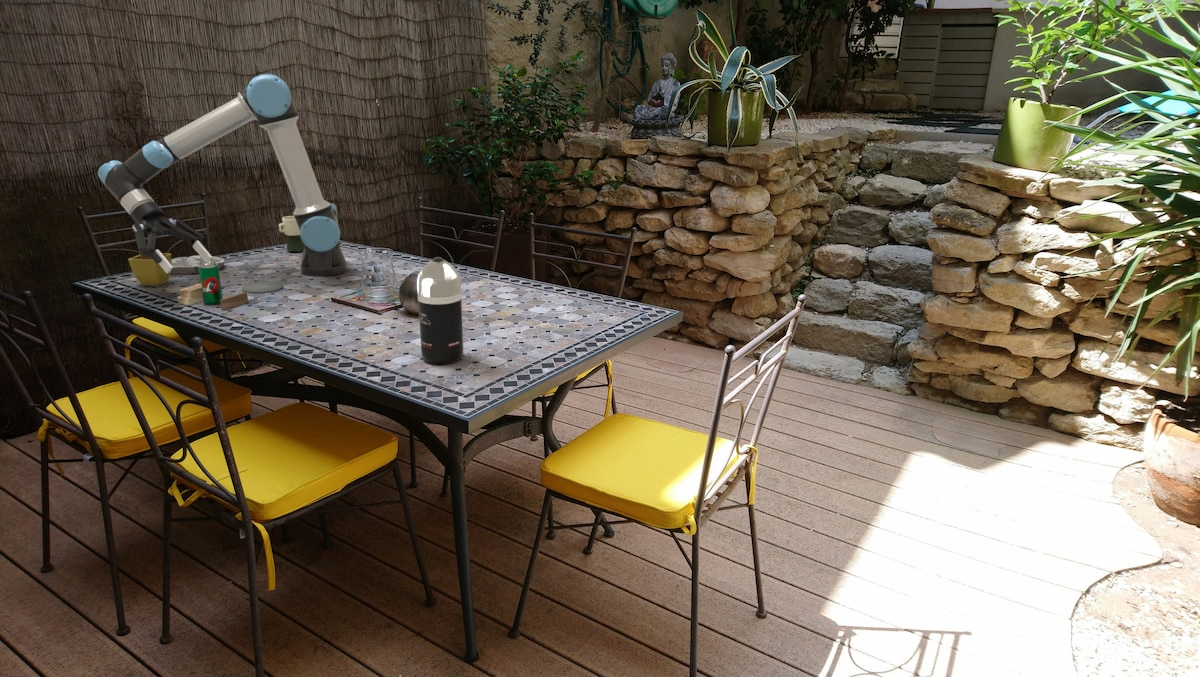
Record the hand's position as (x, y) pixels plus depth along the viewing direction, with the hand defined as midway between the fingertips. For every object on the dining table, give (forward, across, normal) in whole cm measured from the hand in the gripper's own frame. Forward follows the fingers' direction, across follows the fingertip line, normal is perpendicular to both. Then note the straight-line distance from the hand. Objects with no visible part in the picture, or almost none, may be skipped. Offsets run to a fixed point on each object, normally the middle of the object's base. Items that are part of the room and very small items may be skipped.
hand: (190, 265), depth 213 cm
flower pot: (-11, -8, -26) cm, 30 cm away
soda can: (+12, -1, -4) cm, 12 cm away
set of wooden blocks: (+12, -1, -3) cm, 12 cm away
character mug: (-6, -64, -22) cm, 67 cm away
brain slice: (-14, -28, -30) cm, 43 cm away
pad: (+12, -19, -3) cm, 23 cm away
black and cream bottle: (+72, +11, +57) cm, 92 cm away
